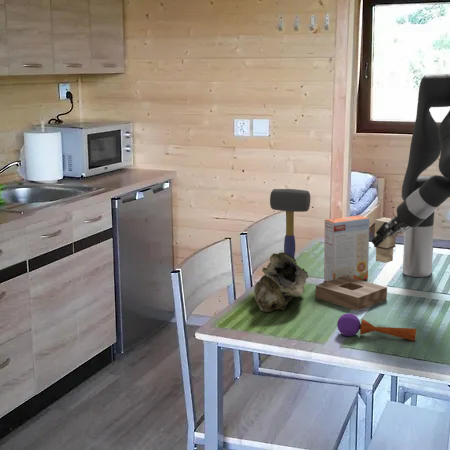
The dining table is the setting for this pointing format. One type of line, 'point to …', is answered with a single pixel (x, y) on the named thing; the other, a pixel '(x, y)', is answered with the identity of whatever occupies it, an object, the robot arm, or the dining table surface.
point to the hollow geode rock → (279, 283)
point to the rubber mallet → (290, 211)
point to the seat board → (351, 293)
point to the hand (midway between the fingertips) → (379, 242)
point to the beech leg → (384, 243)
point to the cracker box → (346, 248)
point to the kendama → (370, 328)
